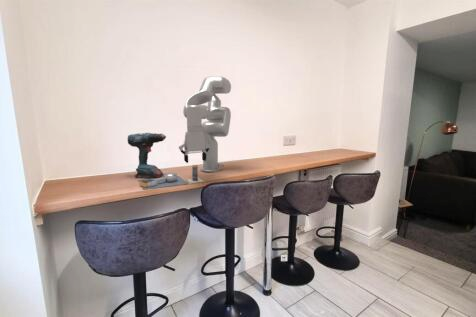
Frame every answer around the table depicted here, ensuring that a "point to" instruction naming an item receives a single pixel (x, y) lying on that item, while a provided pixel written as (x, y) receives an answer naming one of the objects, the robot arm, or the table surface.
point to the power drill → (145, 153)
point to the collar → (159, 180)
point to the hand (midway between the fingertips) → (195, 161)
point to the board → (166, 183)
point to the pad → (195, 181)
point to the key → (195, 172)
